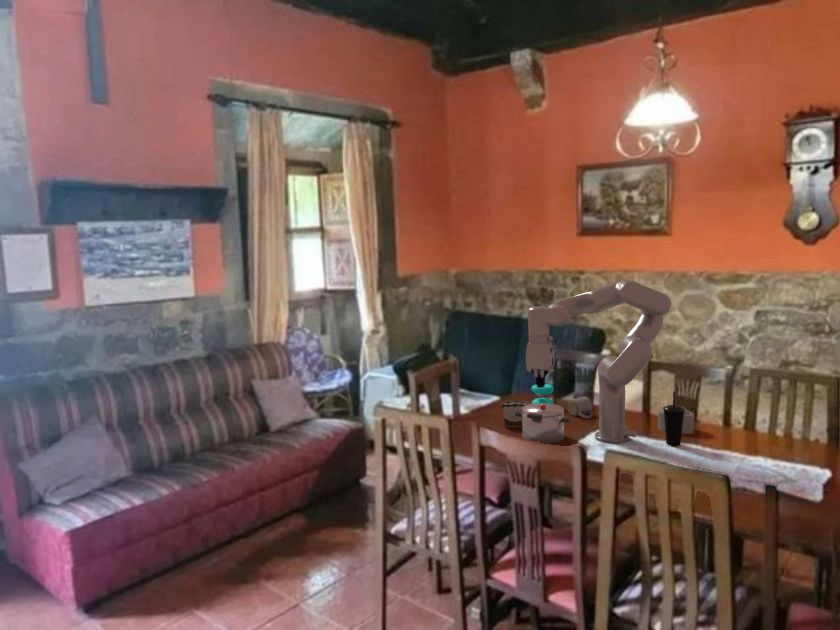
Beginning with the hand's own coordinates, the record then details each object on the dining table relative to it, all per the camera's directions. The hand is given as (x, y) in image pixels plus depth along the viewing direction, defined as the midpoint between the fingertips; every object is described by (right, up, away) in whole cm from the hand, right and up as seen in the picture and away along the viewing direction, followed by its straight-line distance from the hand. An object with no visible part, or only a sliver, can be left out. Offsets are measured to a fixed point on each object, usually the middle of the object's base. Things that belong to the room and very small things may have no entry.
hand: (540, 386), depth 251 cm
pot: (+2, -20, +6) cm, 21 cm away
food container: (-6, -19, +23) cm, 31 cm away
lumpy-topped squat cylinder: (+56, -18, +11) cm, 60 cm away
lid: (+1, -10, +4) cm, 11 cm away
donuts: (+10, -15, +51) cm, 54 cm away
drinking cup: (+48, -21, -7) cm, 52 cm away
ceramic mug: (+24, -16, +35) cm, 45 cm away
